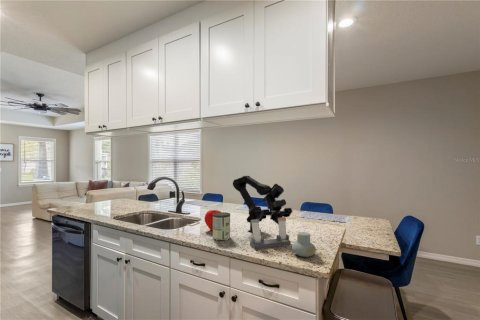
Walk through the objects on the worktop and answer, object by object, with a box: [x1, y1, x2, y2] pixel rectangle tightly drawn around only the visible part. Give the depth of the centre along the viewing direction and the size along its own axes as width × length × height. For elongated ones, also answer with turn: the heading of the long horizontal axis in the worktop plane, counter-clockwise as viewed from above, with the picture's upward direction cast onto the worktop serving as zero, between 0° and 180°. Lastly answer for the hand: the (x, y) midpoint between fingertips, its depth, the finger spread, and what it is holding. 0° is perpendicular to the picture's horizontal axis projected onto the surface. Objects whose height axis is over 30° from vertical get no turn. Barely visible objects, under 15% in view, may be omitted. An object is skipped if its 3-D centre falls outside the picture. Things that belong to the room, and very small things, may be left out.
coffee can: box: [212, 211, 231, 241], centre depth 138 cm, size 10×10×14 cm
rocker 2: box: [278, 217, 287, 239], centre depth 129 cm, size 2×4×11 cm, turn 110°
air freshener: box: [291, 231, 317, 258], centre depth 112 cm, size 11×8×10 cm
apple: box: [204, 209, 222, 231], centre depth 155 cm, size 12×12×13 cm
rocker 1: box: [251, 219, 262, 242], centre depth 125 cm, size 2×4×11 cm, turn 110°
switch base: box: [249, 233, 292, 250], centre depth 126 cm, size 6×21×4 cm, turn 110°
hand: (281, 226), depth 130 cm, fingers closed, pressing on rocker 2
